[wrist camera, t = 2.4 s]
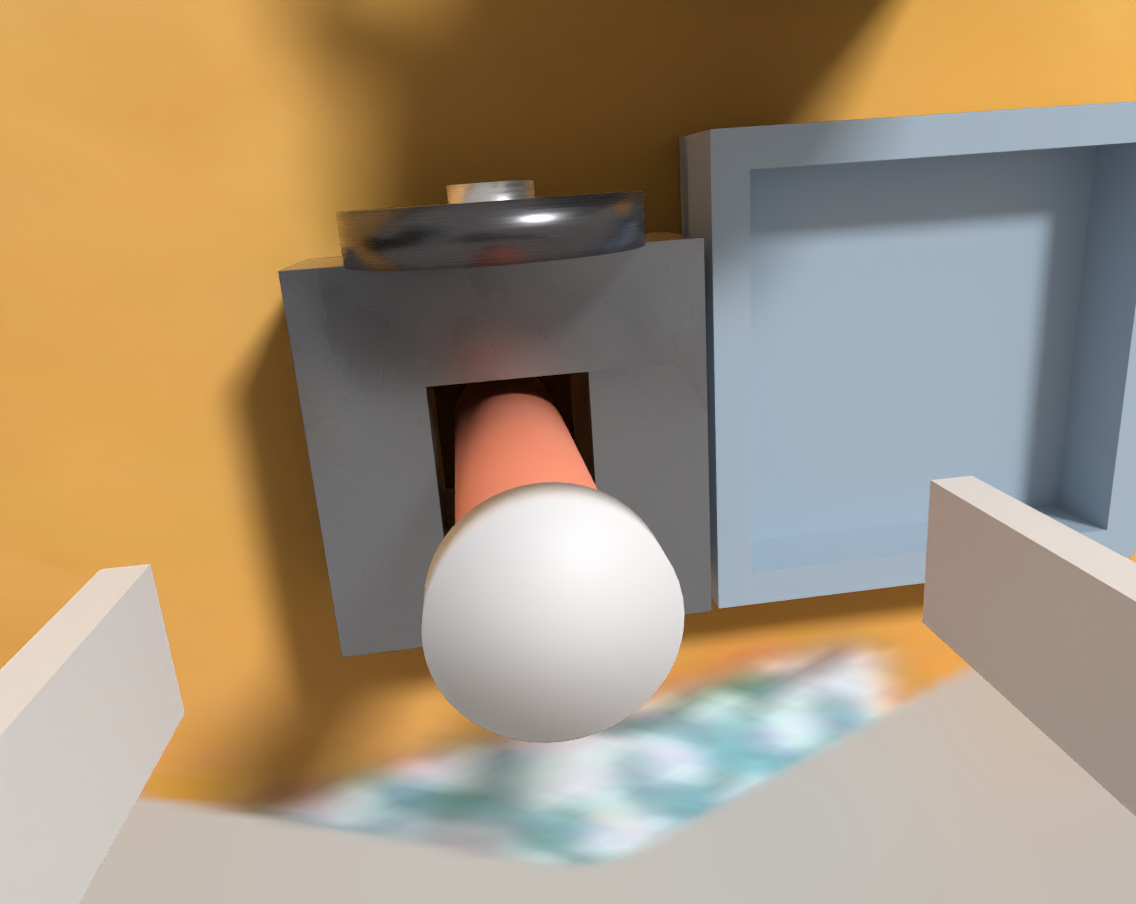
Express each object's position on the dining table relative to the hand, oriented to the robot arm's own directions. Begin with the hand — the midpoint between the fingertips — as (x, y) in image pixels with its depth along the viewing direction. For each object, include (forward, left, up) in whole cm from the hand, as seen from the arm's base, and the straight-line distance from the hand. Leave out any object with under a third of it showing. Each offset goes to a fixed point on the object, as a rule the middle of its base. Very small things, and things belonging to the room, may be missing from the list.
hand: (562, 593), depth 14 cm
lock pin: (0, 0, -12) cm, 12 cm away
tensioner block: (0, 0, -12) cm, 12 cm away
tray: (+12, +1, -12) cm, 16 cm away
